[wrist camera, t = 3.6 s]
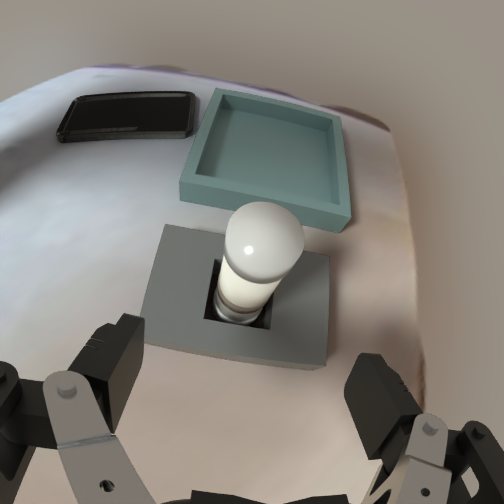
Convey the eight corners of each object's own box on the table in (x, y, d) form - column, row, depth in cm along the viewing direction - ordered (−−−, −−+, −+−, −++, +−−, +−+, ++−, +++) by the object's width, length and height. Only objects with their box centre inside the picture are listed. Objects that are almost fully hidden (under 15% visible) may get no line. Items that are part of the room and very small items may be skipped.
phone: (75, 96, 29) (196, 91, 32) (76, 103, 30) (195, 98, 33) (52, 139, 25) (191, 134, 28) (55, 146, 26) (191, 142, 29)
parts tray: (179, 200, 25) (179, 181, 23) (213, 105, 32) (215, 87, 30) (339, 233, 27) (351, 217, 24) (332, 132, 33) (340, 117, 31)
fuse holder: (141, 342, 19) (135, 334, 17) (167, 241, 23) (165, 223, 21) (312, 370, 21) (326, 365, 18) (317, 270, 24) (329, 256, 22)
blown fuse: (208, 323, 21) (220, 261, 12) (216, 279, 23) (233, 195, 14) (257, 331, 21) (303, 276, 13) (262, 287, 23) (305, 210, 14)
